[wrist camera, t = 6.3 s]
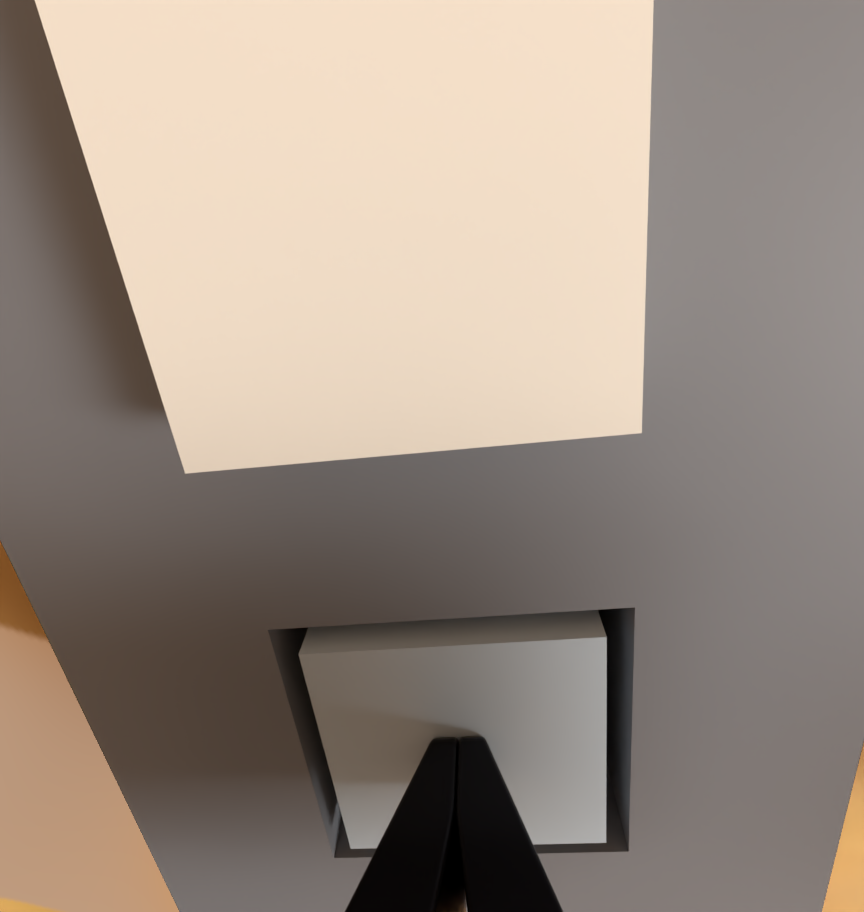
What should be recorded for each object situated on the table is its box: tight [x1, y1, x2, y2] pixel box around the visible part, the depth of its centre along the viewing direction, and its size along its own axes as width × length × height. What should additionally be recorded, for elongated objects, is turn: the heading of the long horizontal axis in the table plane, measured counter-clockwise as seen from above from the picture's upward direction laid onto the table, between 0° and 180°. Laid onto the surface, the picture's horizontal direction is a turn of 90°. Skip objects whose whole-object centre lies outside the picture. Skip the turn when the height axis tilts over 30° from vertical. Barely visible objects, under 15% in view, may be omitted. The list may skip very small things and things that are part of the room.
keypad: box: [0, 0, 864, 912], centre depth 8 cm, size 12×25×4 cm, turn 7°
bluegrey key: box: [298, 610, 607, 849], centre depth 10 cm, size 4×4×2 cm
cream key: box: [35, 0, 654, 474], centre depth 6 cm, size 4×4×2 cm
